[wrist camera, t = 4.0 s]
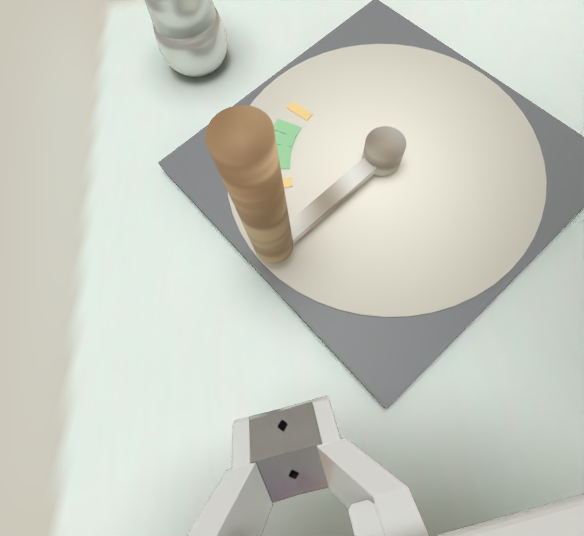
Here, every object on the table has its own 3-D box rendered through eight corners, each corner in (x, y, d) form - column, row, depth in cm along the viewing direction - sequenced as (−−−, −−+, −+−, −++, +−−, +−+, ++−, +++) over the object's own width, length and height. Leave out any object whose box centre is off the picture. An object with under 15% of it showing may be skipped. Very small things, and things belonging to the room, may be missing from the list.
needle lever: (380, 137, 32) (425, -45, 19) (408, 159, 31) (476, -15, 18) (248, 249, 29) (190, 132, 16) (274, 277, 29) (236, 177, 15)
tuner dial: (373, 9, 39) (375, -5, 38) (614, 172, 31) (628, 162, 30) (163, 170, 35) (156, 160, 33) (384, 407, 27) (387, 408, 25)
